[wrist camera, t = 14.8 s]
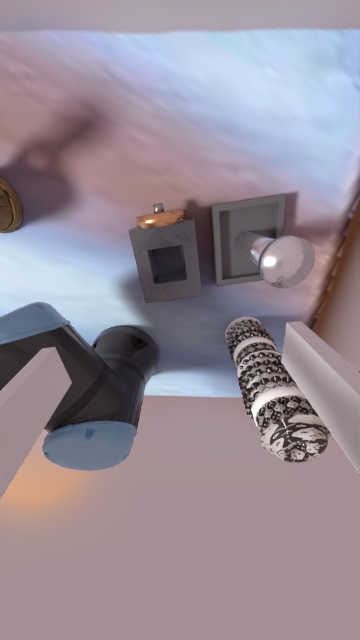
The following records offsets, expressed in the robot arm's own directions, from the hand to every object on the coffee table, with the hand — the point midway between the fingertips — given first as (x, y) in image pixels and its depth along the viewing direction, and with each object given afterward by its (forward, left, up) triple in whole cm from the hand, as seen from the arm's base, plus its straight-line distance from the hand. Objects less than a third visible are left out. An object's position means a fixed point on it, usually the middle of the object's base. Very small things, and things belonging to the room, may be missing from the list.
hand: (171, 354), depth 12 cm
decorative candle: (-18, -12, -29) cm, 37 cm away
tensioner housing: (+1, +2, -29) cm, 29 cm away
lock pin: (+1, -12, -28) cm, 31 cm away
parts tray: (+1, -12, -29) cm, 31 cm away
